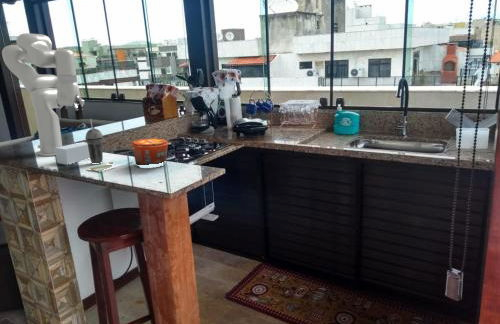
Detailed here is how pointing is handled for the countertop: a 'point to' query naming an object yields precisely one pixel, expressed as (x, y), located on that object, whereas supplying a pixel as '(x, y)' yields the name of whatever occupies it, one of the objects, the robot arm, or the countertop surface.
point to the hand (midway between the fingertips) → (72, 118)
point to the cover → (72, 153)
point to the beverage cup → (95, 144)
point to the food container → (150, 151)
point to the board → (101, 166)
